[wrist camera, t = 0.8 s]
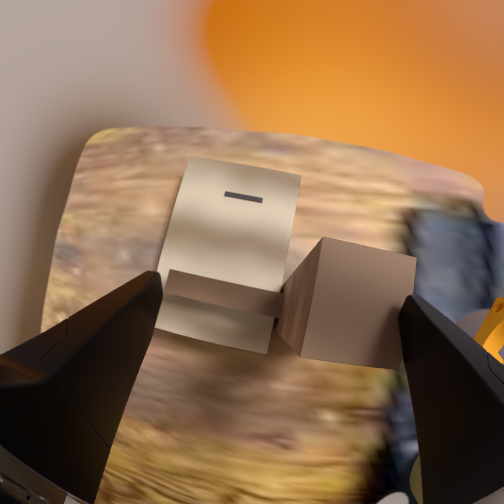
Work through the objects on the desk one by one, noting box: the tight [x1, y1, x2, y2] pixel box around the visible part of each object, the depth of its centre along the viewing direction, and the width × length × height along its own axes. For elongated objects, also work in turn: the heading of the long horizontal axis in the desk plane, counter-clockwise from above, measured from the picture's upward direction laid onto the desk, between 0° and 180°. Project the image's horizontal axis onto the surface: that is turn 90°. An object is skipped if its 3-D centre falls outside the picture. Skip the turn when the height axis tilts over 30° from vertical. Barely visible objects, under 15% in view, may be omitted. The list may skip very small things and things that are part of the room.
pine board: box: [155, 157, 301, 354], centre depth 25 cm, size 15×10×3 cm, turn 168°
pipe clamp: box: [473, 297, 504, 364], centre depth 21 cm, size 12×4×6 cm, turn 135°
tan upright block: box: [164, 237, 416, 370], centre depth 17 cm, size 4×12×16 cm, turn 78°
